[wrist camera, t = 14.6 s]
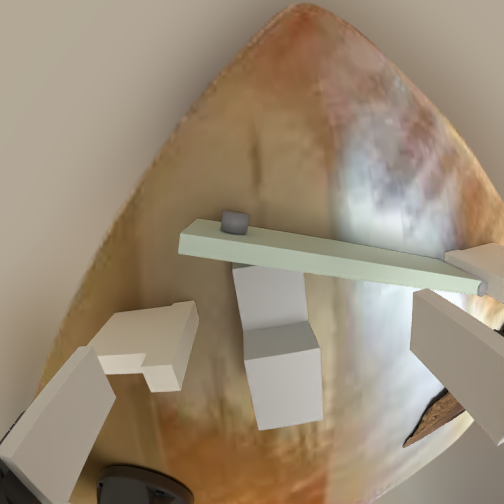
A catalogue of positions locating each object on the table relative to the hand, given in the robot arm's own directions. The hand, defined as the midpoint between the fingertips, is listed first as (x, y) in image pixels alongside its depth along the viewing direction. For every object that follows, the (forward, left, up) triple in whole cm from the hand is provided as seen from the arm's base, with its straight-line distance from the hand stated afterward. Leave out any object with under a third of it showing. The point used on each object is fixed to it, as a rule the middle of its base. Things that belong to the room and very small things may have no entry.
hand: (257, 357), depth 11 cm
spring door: (+18, -4, -15) cm, 24 cm away
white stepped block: (+1, -6, -15) cm, 16 cm away
